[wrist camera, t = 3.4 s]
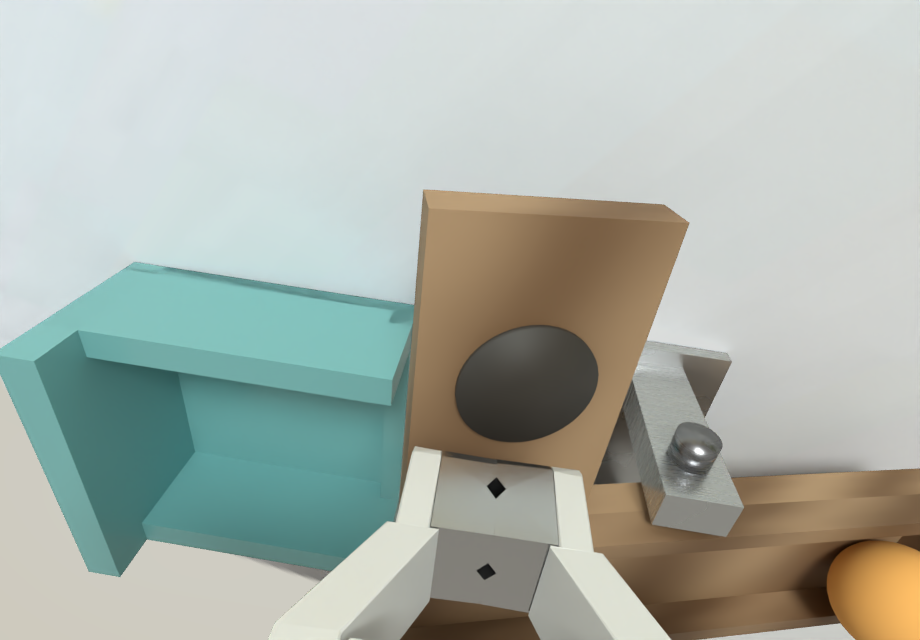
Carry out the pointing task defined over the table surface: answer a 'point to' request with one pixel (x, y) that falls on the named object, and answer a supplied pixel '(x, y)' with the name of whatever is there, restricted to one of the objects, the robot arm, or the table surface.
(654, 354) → the fulcrum
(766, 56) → the table surface
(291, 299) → the teal tray
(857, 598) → the ball
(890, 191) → the table surface
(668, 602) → the lever
